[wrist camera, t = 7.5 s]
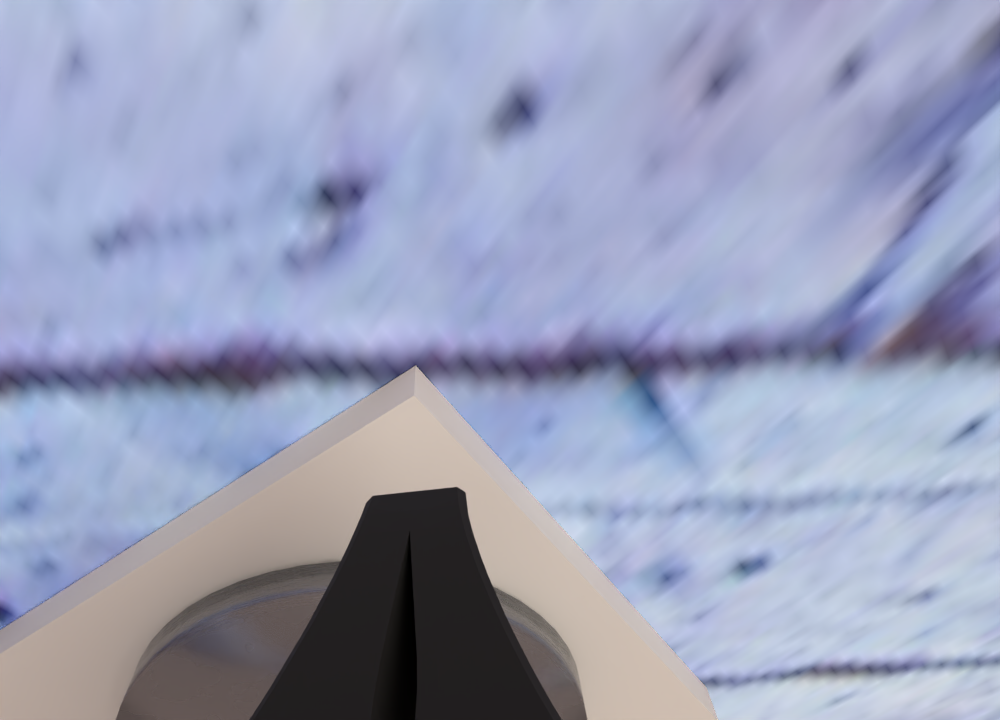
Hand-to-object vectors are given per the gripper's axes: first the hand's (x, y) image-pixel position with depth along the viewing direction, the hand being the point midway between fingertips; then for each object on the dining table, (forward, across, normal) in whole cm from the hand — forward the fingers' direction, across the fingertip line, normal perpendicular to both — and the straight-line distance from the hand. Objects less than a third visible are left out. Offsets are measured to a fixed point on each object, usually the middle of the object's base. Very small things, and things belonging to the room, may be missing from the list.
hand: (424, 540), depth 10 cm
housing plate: (+9, +4, +16) cm, 19 cm away
